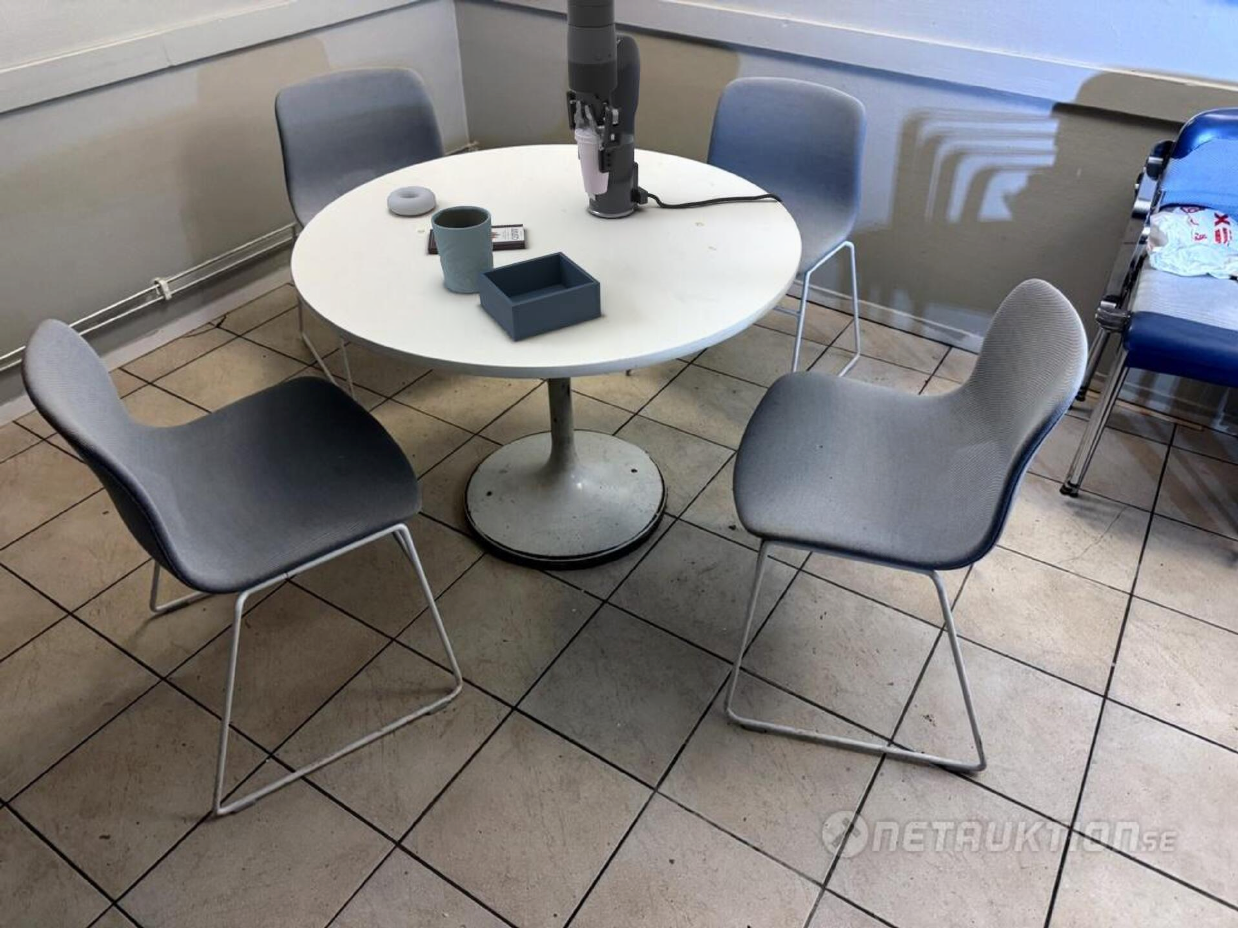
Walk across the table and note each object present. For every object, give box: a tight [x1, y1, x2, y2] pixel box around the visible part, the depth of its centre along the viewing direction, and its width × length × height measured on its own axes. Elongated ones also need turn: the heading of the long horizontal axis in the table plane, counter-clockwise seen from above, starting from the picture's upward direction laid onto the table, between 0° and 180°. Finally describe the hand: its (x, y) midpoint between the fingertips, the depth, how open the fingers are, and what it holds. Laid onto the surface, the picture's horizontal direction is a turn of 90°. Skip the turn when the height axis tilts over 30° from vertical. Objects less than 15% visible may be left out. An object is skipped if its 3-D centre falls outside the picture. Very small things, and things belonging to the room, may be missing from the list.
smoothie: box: [574, 125, 614, 195], centre depth 135 cm, size 6×6×14 cm
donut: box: [386, 185, 437, 216], centre depth 172 cm, size 10×3×10 cm
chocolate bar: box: [427, 223, 526, 254], centre depth 160 cm, size 9×1×18 cm
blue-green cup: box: [430, 205, 495, 294], centre depth 143 cm, size 10×10×12 cm
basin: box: [477, 251, 602, 342], centre depth 137 cm, size 16×14×6 cm
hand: (595, 165), depth 137 cm, fingers closed on smoothie, 6 cm apart
